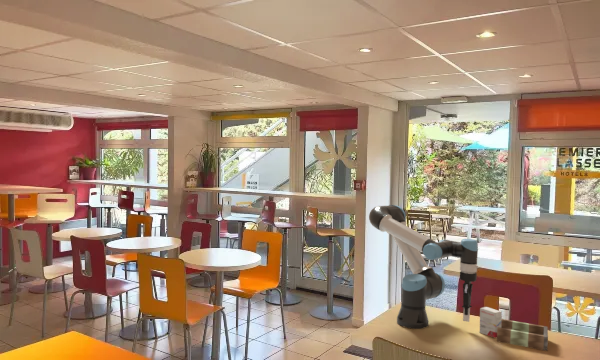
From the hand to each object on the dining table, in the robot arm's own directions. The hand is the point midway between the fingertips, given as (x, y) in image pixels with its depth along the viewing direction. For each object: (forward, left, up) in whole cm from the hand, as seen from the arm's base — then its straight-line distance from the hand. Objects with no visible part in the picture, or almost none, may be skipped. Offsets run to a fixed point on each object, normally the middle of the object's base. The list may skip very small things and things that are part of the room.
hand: (466, 320), depth 220 cm
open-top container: (+24, 0, -4) cm, 24 cm away
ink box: (+11, 0, -5) cm, 12 cm away
